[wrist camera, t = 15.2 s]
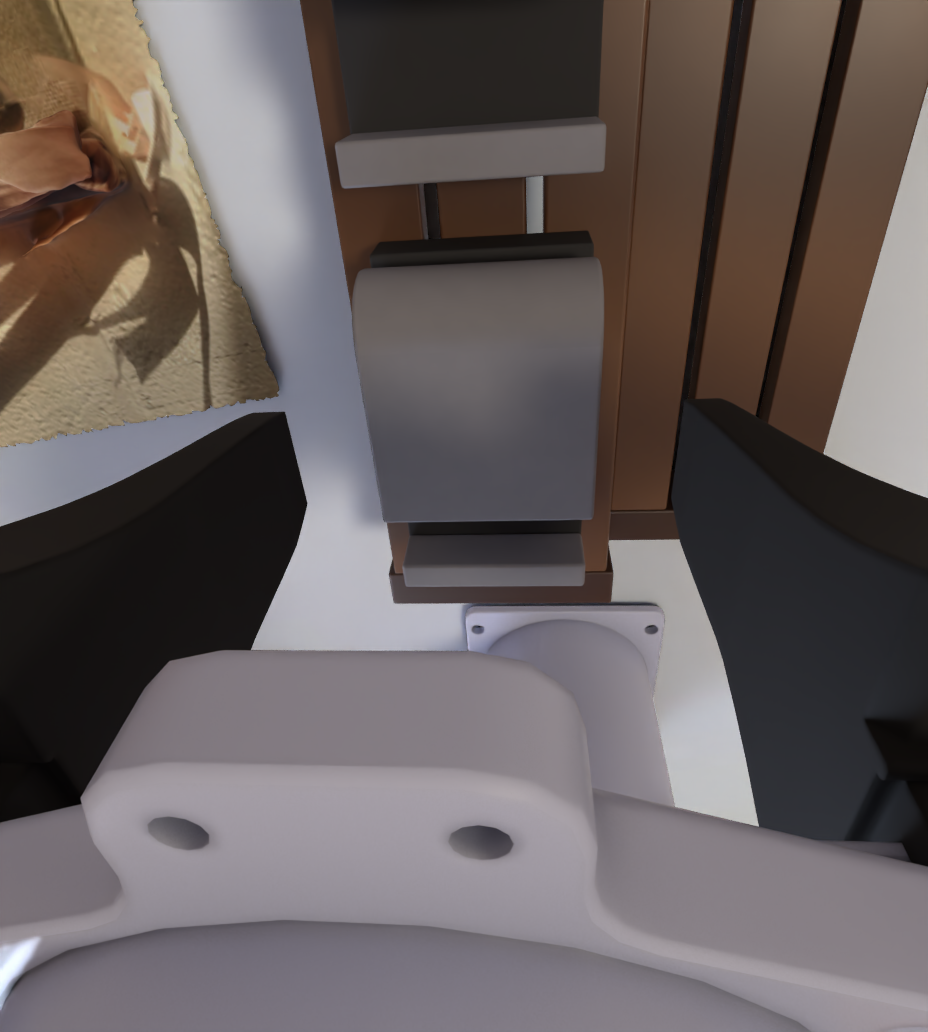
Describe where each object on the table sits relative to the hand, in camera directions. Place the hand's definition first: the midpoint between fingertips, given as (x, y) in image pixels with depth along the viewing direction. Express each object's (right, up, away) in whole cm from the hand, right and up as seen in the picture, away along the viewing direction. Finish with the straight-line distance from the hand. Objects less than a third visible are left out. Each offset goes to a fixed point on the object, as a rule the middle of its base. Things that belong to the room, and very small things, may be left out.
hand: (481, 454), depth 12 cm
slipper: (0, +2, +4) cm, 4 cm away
